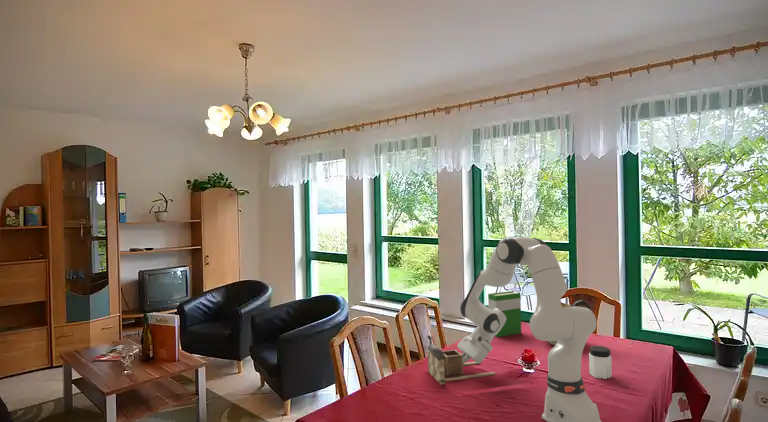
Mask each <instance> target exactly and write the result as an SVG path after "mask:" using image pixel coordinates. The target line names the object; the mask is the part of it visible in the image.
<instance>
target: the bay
mask: <svg viewBox="0 0 768 422" xmlns="http://www.w3.org/2000/svg"><path fill="white" fill-rule="evenodd" d="M426 337H427V339H428V340H429V344H428V345H427V371H428V373H429V374H430V375H431V377H433V378H434V380H436V382H438V383H439V385H447V384H448V383H447V382H449V381H457V380H465V379H472V378H480V377H481V378H482V377H488V376H494V375H495V376H496V372H495V371H491V372H482V373H473V374H466V375H459V376H451V377H446V376H445V371H444V360H442V358H443V356H444V353H443V352H442V351H443V350H441V349H440V348H439V347H437V346H436V345H435V344H434V343H433V342H432V341H433V340H432V336H431V335H427V336H426ZM481 364H482V362H481V363H479V364H478V363H477V362H475V361H470V362H465V364H464V365H463V367H465V366H466V367H467V366H474V365H481Z"/></svg>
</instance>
